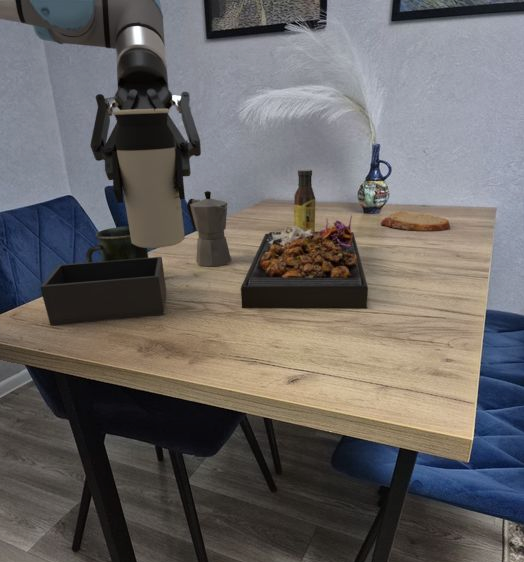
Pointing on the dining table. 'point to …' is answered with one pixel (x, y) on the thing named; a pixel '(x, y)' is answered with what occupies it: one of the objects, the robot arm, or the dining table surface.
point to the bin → (105, 290)
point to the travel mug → (149, 177)
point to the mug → (116, 245)
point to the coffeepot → (210, 230)
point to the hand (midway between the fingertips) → (150, 194)
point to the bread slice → (416, 222)
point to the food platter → (306, 270)
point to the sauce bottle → (304, 202)
